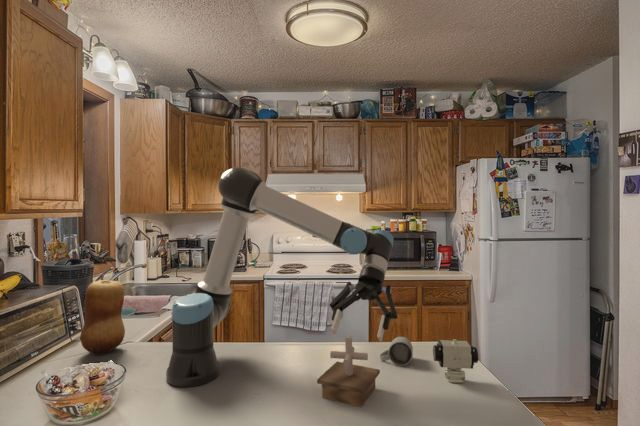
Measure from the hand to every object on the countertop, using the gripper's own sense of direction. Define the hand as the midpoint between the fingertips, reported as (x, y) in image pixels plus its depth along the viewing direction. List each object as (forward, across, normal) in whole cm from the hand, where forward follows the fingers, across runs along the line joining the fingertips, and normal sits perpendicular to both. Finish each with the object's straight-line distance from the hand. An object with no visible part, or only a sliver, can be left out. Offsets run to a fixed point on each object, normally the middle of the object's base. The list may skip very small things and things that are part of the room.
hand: (355, 335), depth 104 cm
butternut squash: (+21, +88, -1) cm, 91 cm away
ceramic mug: (-6, -5, -27) cm, 29 cm away
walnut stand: (+12, +1, -8) cm, 15 cm away
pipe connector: (+9, +1, -5) cm, 10 cm away
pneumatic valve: (-1, -24, -22) cm, 33 cm away
